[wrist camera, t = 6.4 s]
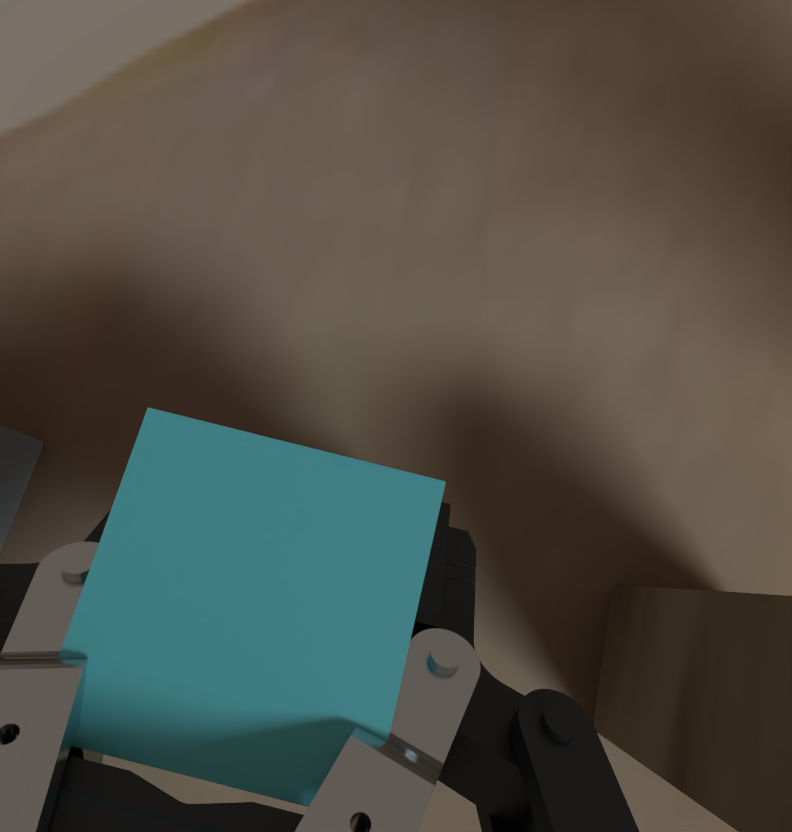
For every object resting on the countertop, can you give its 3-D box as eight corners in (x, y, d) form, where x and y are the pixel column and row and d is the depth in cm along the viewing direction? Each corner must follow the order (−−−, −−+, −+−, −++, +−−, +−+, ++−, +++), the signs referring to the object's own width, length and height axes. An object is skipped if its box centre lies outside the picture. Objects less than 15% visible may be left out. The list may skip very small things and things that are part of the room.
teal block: (404, 525, 19) (446, 481, 9) (368, 679, 17) (370, 821, 8) (262, 489, 19) (147, 407, 9) (216, 641, 17) (30, 735, 8)
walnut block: (745, 617, 20) (1103, 664, 10) (732, 764, 19) (1119, 970, 9) (613, 584, 20) (847, 599, 10) (592, 729, 19) (832, 897, 9)
